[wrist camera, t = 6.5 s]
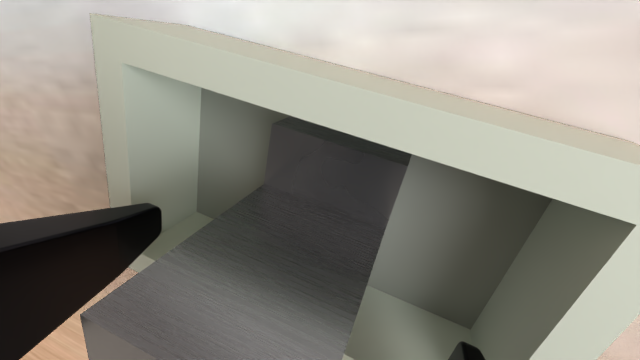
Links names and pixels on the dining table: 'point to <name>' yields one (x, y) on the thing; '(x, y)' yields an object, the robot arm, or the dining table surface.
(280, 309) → the grey l-shaped step block
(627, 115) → the dining table surface
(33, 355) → the dining table surface
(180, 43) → the pale green open box
